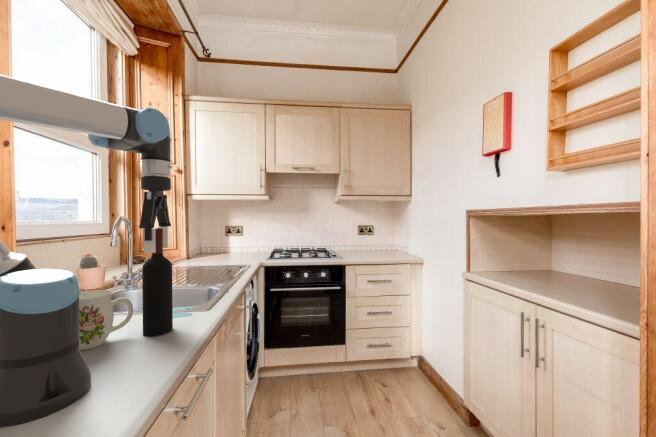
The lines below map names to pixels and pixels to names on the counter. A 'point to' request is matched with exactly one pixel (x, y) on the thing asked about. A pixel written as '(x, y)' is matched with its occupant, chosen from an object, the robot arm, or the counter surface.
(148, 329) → the wine bottle
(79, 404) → the counter surface
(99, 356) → the counter surface
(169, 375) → the counter surface
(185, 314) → the mat
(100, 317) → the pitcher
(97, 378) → the counter surface
